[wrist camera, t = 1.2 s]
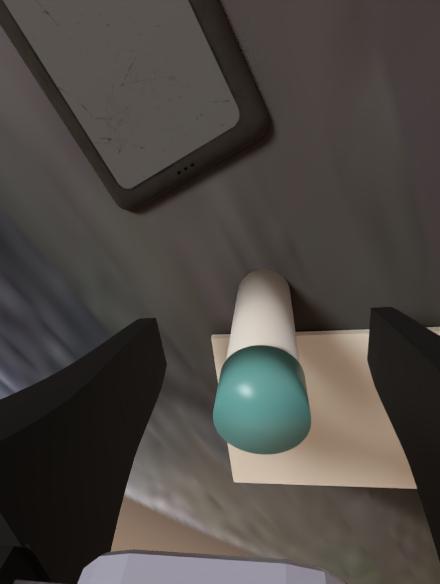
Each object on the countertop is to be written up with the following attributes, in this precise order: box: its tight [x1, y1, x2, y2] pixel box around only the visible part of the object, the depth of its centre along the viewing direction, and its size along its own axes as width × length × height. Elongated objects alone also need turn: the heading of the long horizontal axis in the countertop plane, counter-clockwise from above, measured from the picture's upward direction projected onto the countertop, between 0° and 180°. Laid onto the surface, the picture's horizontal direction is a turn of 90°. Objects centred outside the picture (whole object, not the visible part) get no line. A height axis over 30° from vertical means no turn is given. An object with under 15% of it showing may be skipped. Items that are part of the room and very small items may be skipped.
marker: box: [213, 269, 311, 455], centre depth 12 cm, size 2×2×7 cm
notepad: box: [211, 327, 440, 489], centre depth 17 cm, size 14×10×1 cm
